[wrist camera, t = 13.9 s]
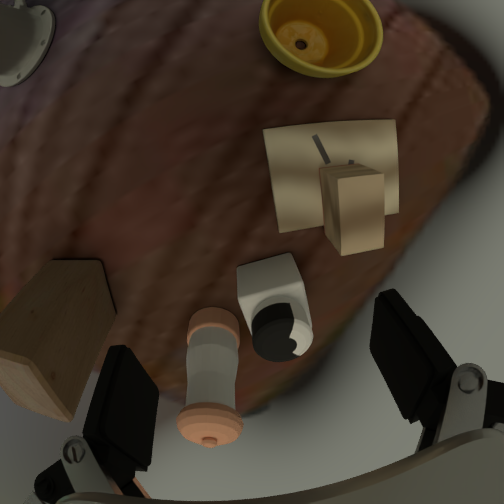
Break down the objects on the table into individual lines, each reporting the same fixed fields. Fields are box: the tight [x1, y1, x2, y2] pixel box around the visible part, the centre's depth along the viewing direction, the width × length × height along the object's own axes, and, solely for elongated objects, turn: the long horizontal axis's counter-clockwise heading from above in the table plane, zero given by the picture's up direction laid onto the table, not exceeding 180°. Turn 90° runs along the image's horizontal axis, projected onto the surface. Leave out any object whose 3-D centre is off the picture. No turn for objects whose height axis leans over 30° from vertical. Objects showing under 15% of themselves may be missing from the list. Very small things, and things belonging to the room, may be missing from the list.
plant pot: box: [259, 0, 383, 78], centre depth 19 cm, size 10×10×10 cm
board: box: [262, 119, 399, 233], centre depth 30 cm, size 12×16×1 cm
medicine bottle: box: [237, 253, 313, 362], centre depth 31 cm, size 7×7×12 cm
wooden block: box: [0, 260, 116, 422], centre depth 26 cm, size 10×10×20 cm
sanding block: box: [319, 163, 385, 256], centre depth 28 cm, size 8×5×6 cm, turn 10°
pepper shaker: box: [176, 307, 244, 448], centre depth 31 cm, size 7×7×19 cm
